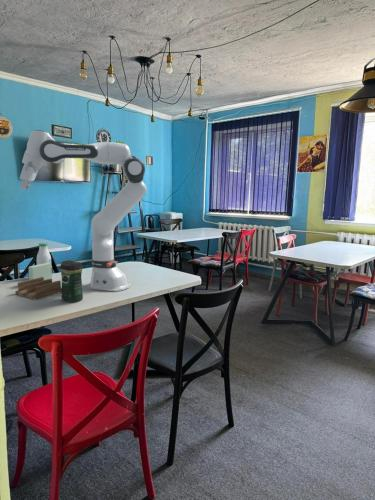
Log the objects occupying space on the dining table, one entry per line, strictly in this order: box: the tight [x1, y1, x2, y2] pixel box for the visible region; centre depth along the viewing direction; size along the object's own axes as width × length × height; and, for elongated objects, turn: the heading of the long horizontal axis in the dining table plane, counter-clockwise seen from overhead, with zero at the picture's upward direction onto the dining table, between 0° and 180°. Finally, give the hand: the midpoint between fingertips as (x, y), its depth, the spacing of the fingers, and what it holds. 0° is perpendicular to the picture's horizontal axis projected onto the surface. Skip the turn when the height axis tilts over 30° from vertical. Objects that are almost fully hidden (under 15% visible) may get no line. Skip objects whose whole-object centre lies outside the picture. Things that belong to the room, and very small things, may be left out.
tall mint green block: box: [28, 262, 53, 280], centre depth 186 cm, size 3×12×10 cm, turn 152°
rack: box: [14, 277, 62, 301], centre depth 170 cm, size 15×16×6 cm
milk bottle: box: [36, 242, 52, 269], centre depth 197 cm, size 8×8×20 cm
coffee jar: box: [60, 260, 84, 303], centre depth 160 cm, size 10×8×19 cm
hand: (24, 189), depth 172 cm, fingers open, 8 cm apart
